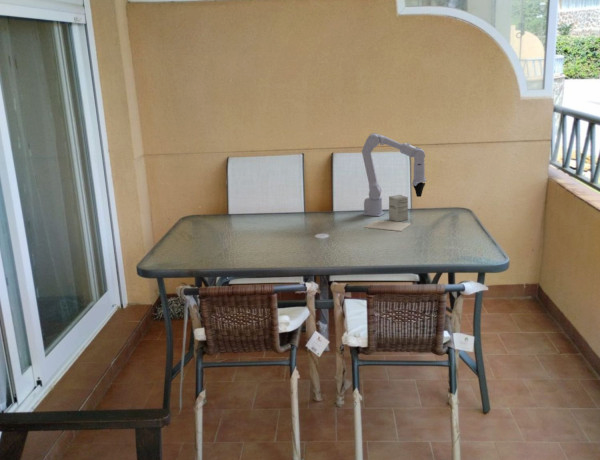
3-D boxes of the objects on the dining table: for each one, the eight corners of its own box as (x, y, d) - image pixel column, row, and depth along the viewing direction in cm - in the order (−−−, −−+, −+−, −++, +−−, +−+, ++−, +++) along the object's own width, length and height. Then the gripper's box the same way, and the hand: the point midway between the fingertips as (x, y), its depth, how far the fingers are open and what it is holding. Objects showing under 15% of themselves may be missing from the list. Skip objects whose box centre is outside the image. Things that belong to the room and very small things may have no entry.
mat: (364, 227, 307) (364, 226, 307) (376, 220, 318) (375, 220, 318) (401, 231, 297) (401, 230, 297) (411, 224, 308) (411, 223, 308)
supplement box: (388, 219, 320) (388, 196, 317) (400, 217, 323) (400, 194, 320) (396, 222, 314) (396, 198, 310) (408, 220, 317) (408, 196, 313)
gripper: (421, 174, 313) (421, 199, 317) (431, 169, 325) (430, 194, 329) (408, 173, 317) (408, 198, 320) (418, 169, 329) (418, 193, 332)
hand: (418, 196), depth 325 cm, fingers closed
